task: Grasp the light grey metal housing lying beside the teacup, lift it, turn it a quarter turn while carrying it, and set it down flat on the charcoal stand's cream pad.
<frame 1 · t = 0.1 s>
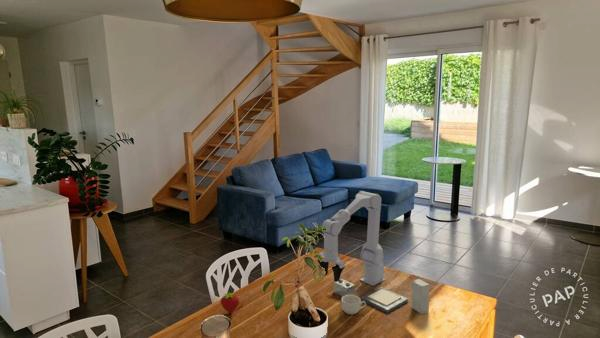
hand: (330, 277, 166), 10 cm above the table, tool pointing down, fingers open, 7 cm apart
teacup: (353, 312, 159), on the table
skincare box: (419, 310, 159), on the table
stand: (384, 301, 167), on the table
strawberry: (230, 314, 158), on the table
housing: (344, 293, 173), on the table
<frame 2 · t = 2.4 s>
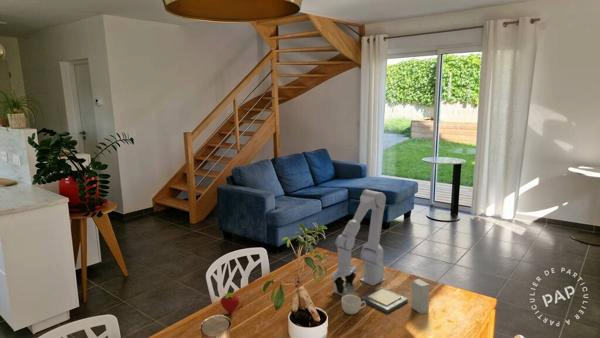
hand: (344, 290, 173), 1 cm above the table, tool pointing down, fingers closed on housing, 5 cm apart
housing: (344, 293, 173), on the table, touching gripper
everything else where it was.
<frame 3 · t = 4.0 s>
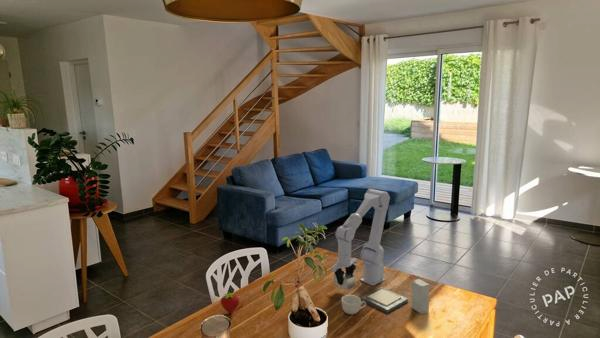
hand: (344, 282, 173), 5 cm above the table, tool pointing down, fingers closed on housing, 5 cm apart
housing: (344, 285, 173), point 4 cm above the table, touching gripper
everything else where it was.
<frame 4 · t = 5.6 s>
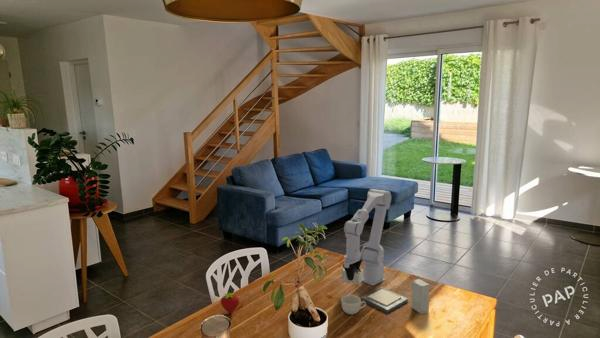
hand: (352, 277, 171), 8 cm above the table, tool pointing down, fingers closed on housing, 5 cm apart
housing: (352, 280, 171), point 7 cm above the table, touching gripper
everything else where it was.
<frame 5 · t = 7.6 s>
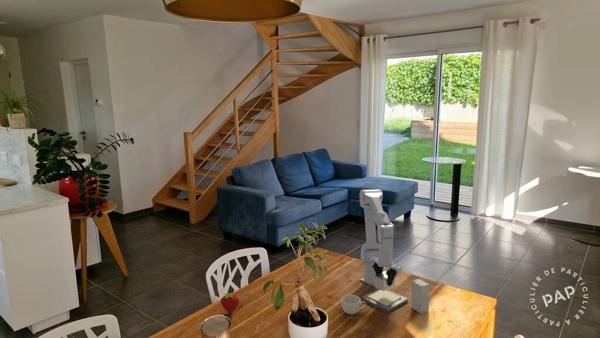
hand: (384, 282, 165), 8 cm above the table, tool pointing down, fingers closed on housing, 5 cm apart
housing: (384, 286, 165), point 7 cm above the table, touching gripper
everything else where it was.
when the fingers open (4 cm above the table, at t = 9.1 s): housing stays where it is, resting on stand.
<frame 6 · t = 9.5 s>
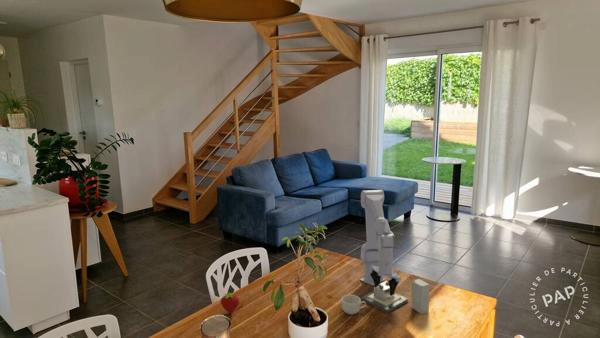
hand: (384, 291, 166), 4 cm above the table, tool pointing down, fingers open, 7 cm apart
housing: (384, 296, 166), point 2 cm above the table, touching stand
everything else where it was.
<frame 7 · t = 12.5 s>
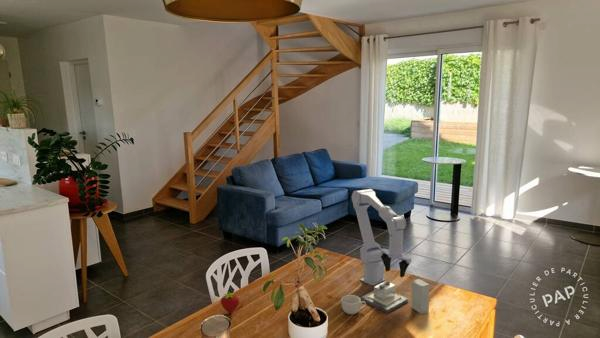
hand: (394, 273, 169), 10 cm above the table, tool pointing down, fingers open, 7 cm apart
nothing on the table moved.
at the end: housing inside the target area on the stand (0.1 cm from its centre), point 2.0 cm above the stand's base; housing tilted 0°; the gripper is holding nothing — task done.
